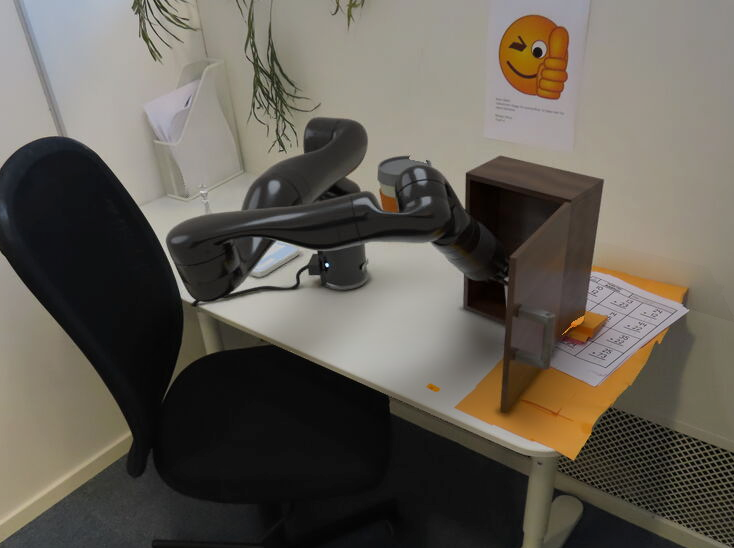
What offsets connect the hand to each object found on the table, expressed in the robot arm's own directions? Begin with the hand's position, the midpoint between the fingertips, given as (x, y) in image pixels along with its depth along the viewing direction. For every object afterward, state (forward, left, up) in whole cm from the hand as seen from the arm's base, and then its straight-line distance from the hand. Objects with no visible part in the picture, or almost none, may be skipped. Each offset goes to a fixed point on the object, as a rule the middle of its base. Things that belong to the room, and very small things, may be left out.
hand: (509, 283), depth 121 cm
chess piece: (-73, +44, -9) cm, 86 cm away
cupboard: (+3, +4, -9) cm, 10 cm away
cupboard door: (+6, -17, -9) cm, 20 cm away
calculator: (-57, +26, -9) cm, 63 cm away
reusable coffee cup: (-23, +42, -9) cm, 49 cm away
